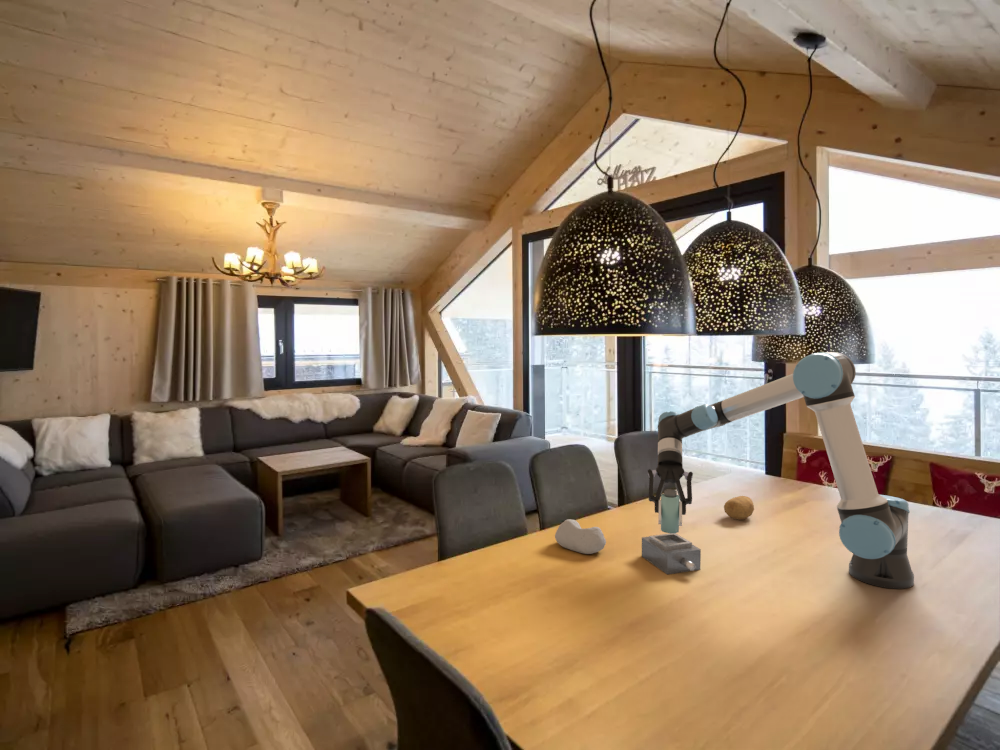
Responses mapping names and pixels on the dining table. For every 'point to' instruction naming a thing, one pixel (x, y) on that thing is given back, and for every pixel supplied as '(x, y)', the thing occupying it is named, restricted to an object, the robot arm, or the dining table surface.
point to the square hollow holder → (671, 553)
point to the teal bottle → (670, 511)
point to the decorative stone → (580, 537)
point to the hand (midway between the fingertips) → (670, 522)
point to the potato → (739, 507)
